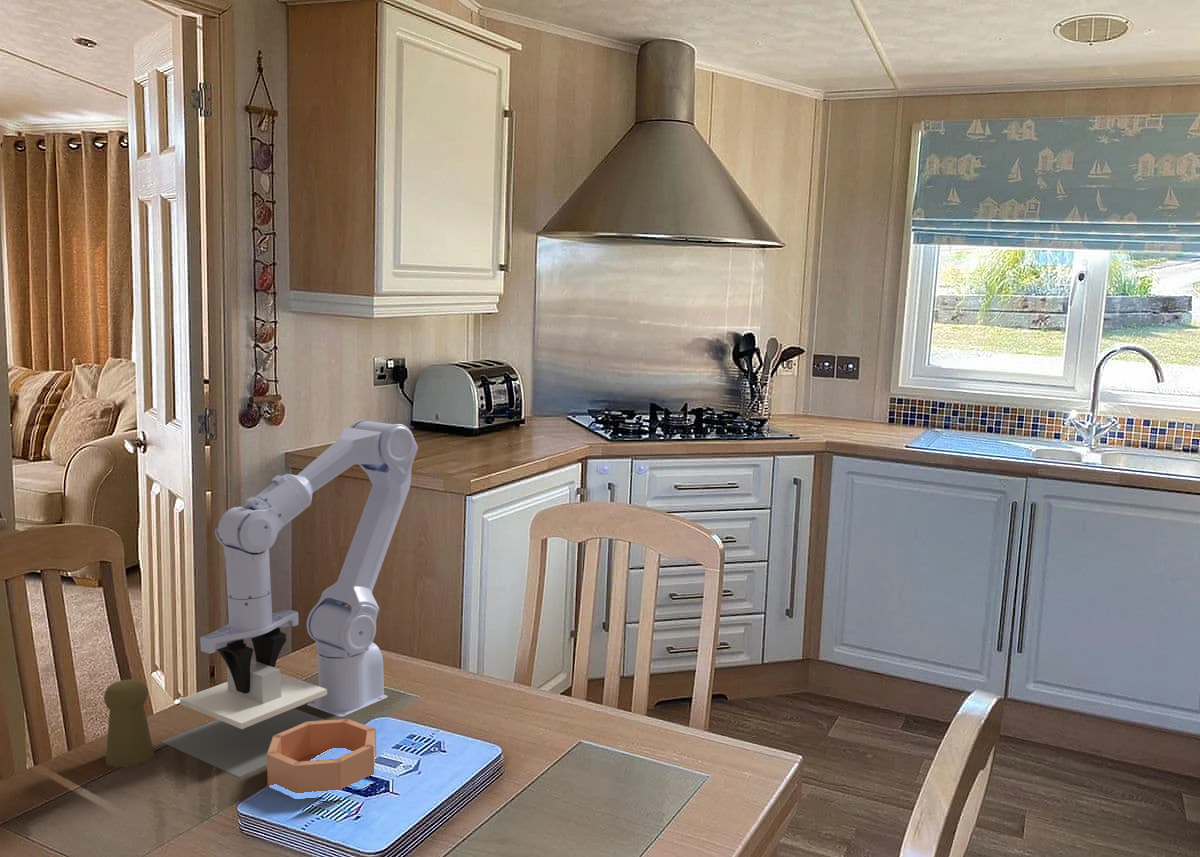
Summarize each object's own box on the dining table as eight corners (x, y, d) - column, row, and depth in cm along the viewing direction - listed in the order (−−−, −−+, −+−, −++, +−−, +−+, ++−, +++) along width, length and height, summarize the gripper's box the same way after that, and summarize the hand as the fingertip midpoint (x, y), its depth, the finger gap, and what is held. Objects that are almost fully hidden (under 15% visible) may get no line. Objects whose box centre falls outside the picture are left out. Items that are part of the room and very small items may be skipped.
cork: (135, 773, 131) (130, 693, 129) (94, 769, 132) (89, 689, 130) (164, 753, 136) (159, 676, 135) (125, 749, 138) (120, 672, 136)
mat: (269, 703, 153) (269, 699, 153) (348, 732, 143) (348, 728, 143) (160, 745, 139) (160, 741, 139) (239, 781, 128) (239, 777, 128)
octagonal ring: (330, 746, 139) (329, 711, 138) (396, 771, 131) (395, 735, 130) (249, 783, 128) (247, 746, 127) (316, 813, 120) (314, 774, 120)
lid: (265, 673, 150) (264, 642, 149) (327, 694, 142) (325, 662, 141) (180, 704, 139) (178, 671, 138) (241, 729, 130) (240, 694, 130)
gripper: (275, 576, 146) (279, 665, 148) (184, 601, 135) (190, 697, 136) (306, 584, 142) (310, 675, 144) (216, 611, 131) (221, 709, 132)
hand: (254, 687), depth 140 cm, fingers closed on lid, 3 cm apart
